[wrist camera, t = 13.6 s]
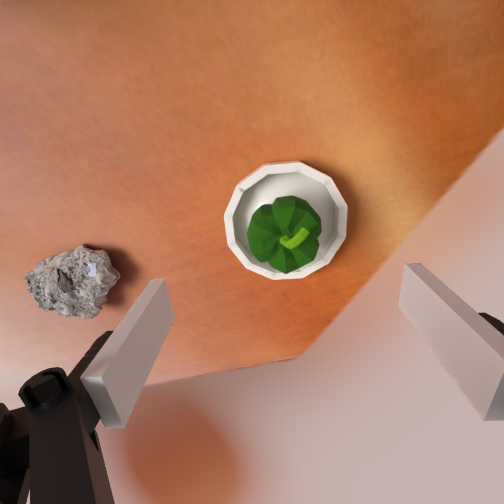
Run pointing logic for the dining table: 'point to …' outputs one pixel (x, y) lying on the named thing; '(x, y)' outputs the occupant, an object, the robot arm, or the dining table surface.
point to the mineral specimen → (73, 282)
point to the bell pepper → (285, 233)
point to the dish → (278, 185)
